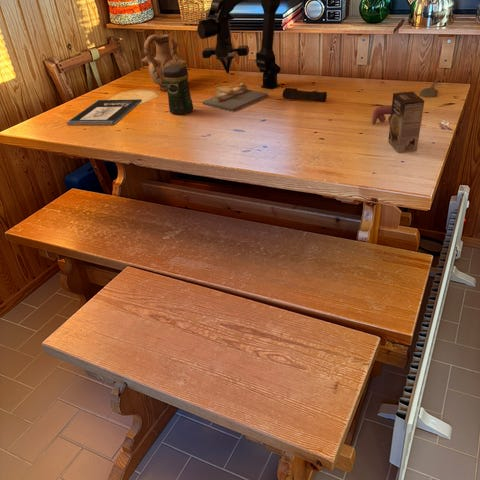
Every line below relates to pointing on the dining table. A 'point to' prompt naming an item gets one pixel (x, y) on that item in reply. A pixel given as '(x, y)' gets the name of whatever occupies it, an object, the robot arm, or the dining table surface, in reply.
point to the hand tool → (304, 94)
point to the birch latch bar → (227, 95)
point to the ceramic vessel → (161, 58)
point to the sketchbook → (104, 112)
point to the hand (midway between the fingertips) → (228, 73)
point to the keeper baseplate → (235, 99)
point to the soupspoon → (430, 91)
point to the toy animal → (381, 114)
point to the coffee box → (405, 121)
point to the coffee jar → (178, 89)
